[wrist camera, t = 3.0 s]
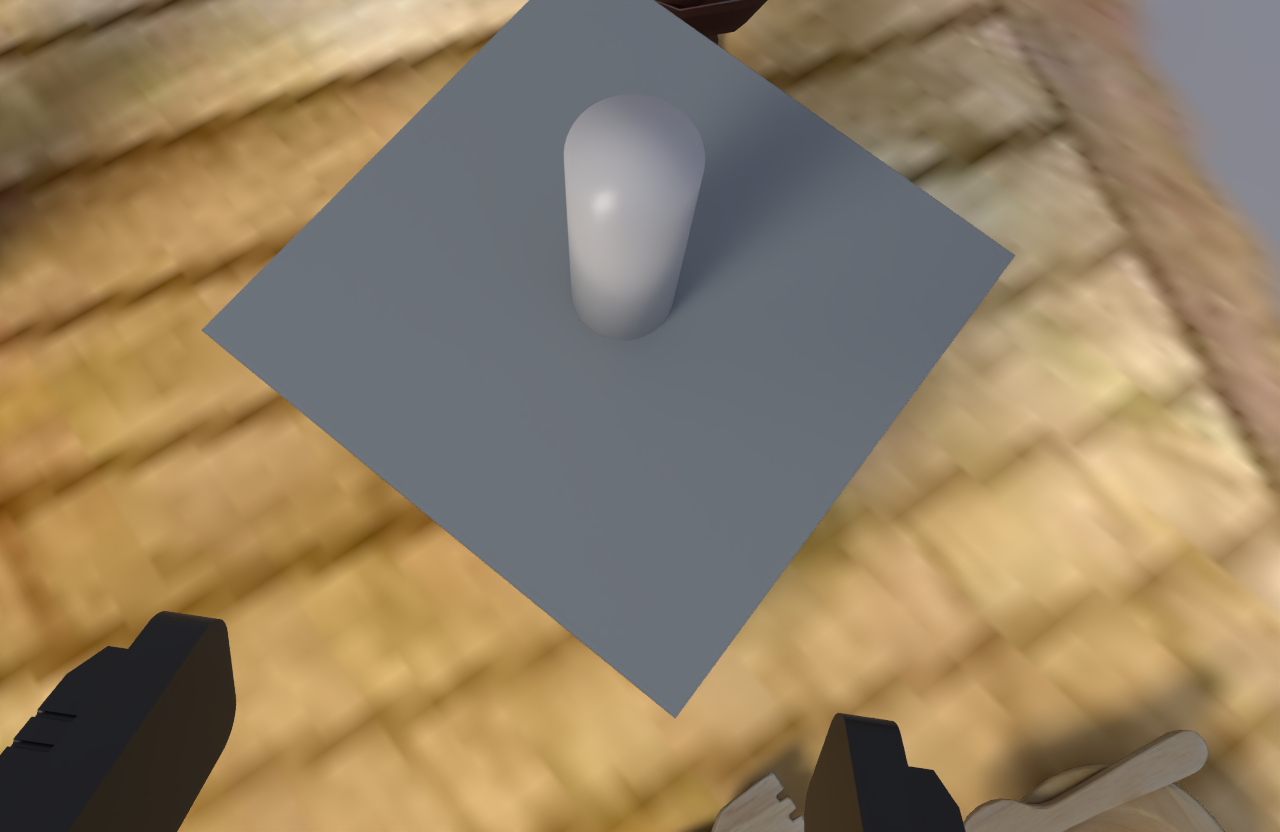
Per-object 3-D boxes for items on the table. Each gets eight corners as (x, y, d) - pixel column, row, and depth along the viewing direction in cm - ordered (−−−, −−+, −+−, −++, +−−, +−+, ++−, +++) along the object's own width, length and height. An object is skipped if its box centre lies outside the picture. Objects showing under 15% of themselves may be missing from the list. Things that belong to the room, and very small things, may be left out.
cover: (350, 452, 44) (46, 203, 19) (584, 192, 48) (577, -282, 24) (641, 691, 42) (712, 749, 17) (861, 399, 46) (1167, 113, 21)
